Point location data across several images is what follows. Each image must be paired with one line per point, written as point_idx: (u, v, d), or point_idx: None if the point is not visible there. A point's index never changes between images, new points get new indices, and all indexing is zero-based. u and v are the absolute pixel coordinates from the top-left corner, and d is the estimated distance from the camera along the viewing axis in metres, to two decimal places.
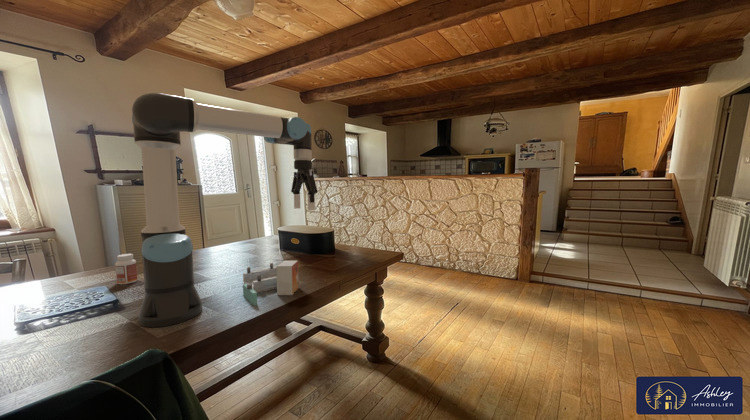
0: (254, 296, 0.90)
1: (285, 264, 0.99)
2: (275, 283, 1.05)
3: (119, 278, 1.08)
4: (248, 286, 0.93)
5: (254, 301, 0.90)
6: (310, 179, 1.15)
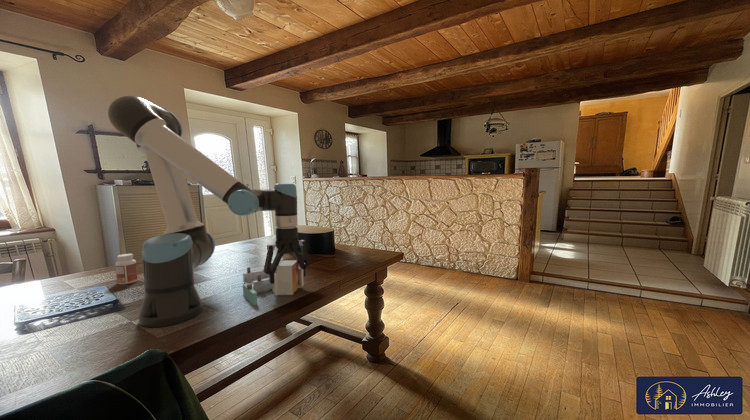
0: (254, 296, 0.90)
1: (285, 264, 0.99)
2: None
3: (119, 278, 1.08)
4: (248, 286, 0.93)
5: (254, 301, 0.90)
6: (267, 255, 0.96)
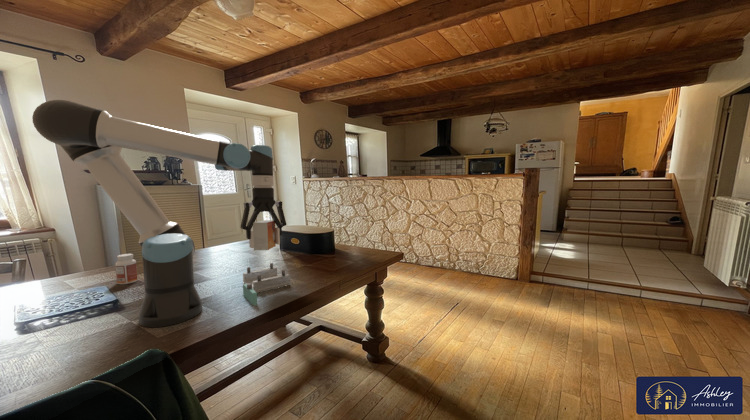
0: (254, 296, 0.90)
1: (261, 221, 1.06)
2: (275, 283, 1.05)
3: (119, 278, 1.08)
4: (248, 286, 0.93)
5: (254, 301, 0.90)
6: None
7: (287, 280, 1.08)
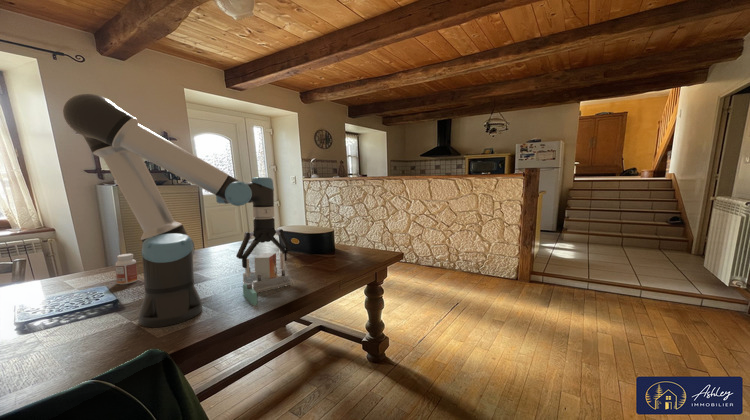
0: (254, 296, 0.90)
1: (263, 256, 1.07)
2: (275, 283, 1.05)
3: (119, 278, 1.08)
4: (248, 286, 0.93)
5: (254, 301, 0.90)
6: (242, 242, 1.03)
7: (287, 280, 1.08)
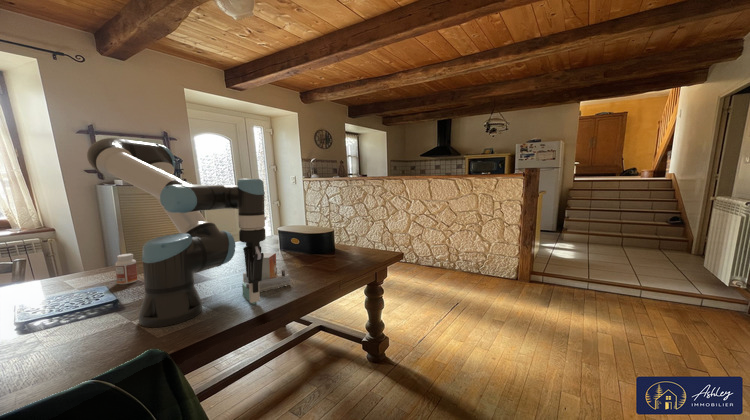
0: None
1: None
2: (275, 283, 1.05)
3: (119, 278, 1.08)
4: (247, 285, 0.94)
5: None
6: (256, 265, 0.84)
7: (287, 280, 1.08)
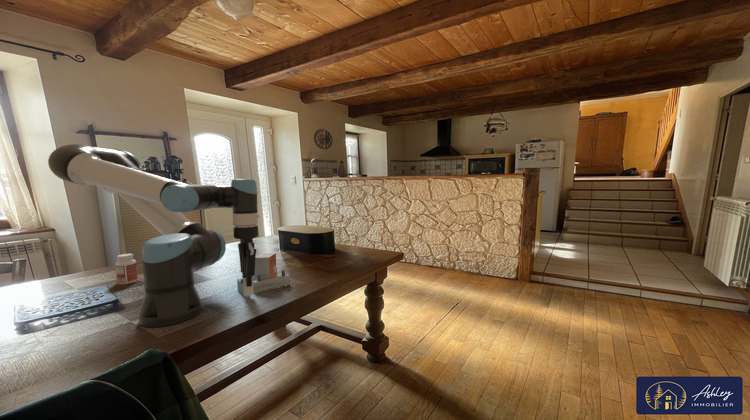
0: None
1: (263, 256, 1.07)
2: (275, 283, 1.05)
3: (119, 278, 1.08)
4: (242, 280, 0.99)
5: None
6: (249, 261, 0.90)
7: (287, 280, 1.08)
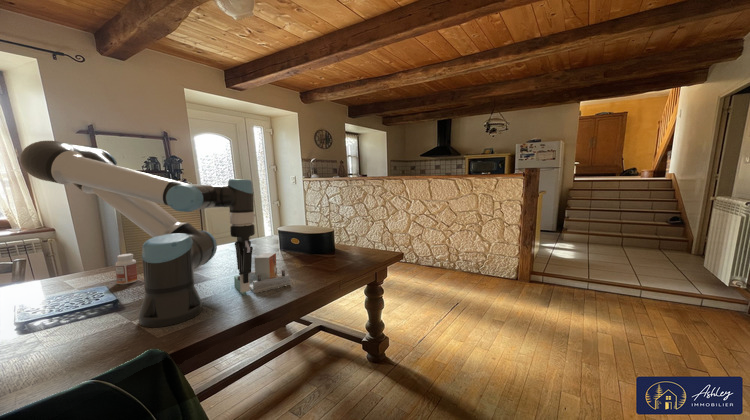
0: None
1: (263, 256, 1.07)
2: (275, 283, 1.05)
3: (119, 278, 1.08)
4: (238, 277, 1.02)
5: None
6: (245, 258, 0.93)
7: (287, 280, 1.08)
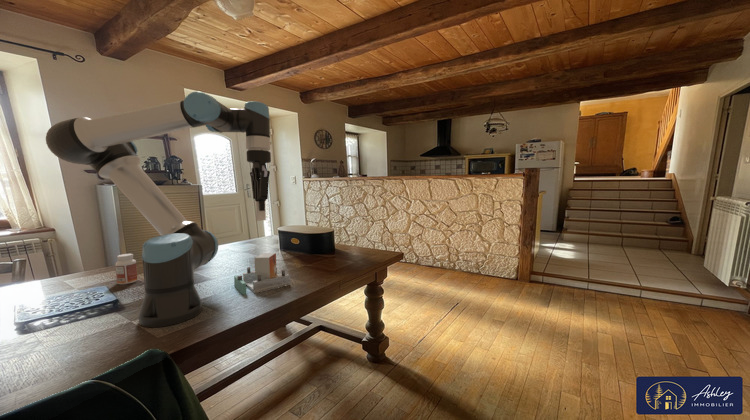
0: (243, 286, 0.99)
1: (263, 256, 1.07)
2: (275, 283, 1.05)
3: (119, 278, 1.08)
4: (238, 277, 1.02)
5: (243, 291, 0.99)
6: (262, 182, 0.91)
7: (287, 280, 1.08)
